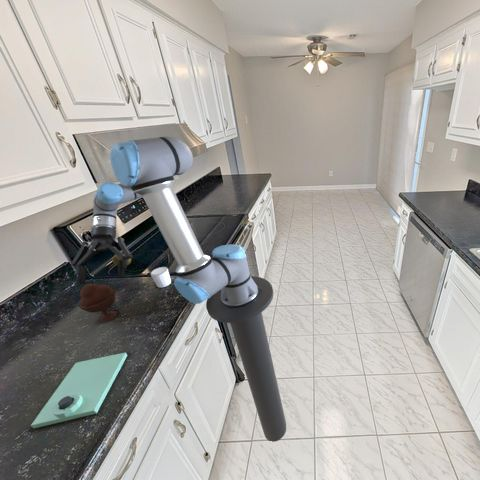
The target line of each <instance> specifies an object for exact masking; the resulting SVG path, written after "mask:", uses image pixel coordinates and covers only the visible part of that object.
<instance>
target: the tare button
mask: <svg viewBox="0 0 480 480" xmlns="http://www.w3.org/2000/svg"><path fill="white" fill-rule="evenodd" d="M72 403H73V399H72V398H71V397H70V396H66V397H64V398H62V399H61V400H60V401H59V402H58V405H59V407H60V408H61V409H65V408H67V407H69V406H70V405H71V404H72Z"/></svg>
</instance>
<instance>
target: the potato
mask: <svg viewBox="0 0 480 480" xmlns="http://www.w3.org/2000/svg"><path fill="white" fill-rule="evenodd" d="M122 254H123V255H124V256H125V254H124V253H122ZM118 260H121V259H120V258H119V257H118V256H117V255H116V254H115V255H114V256H113V257H112V258H111V261H112V263H113V264H114V265H115V266H117V267H118ZM131 263H132V259H128V260H127V266H129V265H130V264H131Z"/></svg>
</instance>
